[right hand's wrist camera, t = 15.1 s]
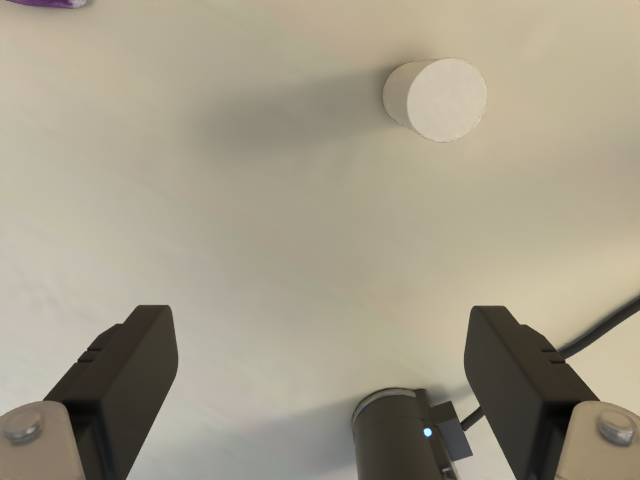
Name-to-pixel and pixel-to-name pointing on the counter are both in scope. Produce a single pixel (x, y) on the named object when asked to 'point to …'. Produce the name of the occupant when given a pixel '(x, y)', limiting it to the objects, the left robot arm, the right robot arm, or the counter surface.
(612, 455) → the right robot arm
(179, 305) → the counter surface
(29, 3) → the figurine
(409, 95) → the canister
